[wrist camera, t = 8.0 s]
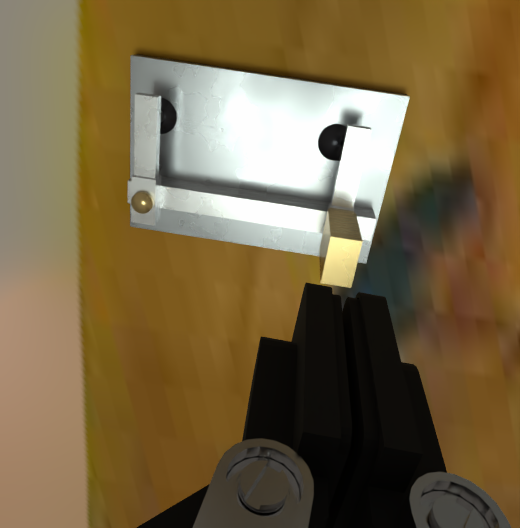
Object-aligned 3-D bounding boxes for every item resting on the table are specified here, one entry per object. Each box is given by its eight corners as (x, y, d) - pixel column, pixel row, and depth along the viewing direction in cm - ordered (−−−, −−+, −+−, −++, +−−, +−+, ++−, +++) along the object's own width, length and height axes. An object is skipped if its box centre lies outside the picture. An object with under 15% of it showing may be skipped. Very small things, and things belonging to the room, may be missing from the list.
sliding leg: (341, 117, 31) (350, 143, 24) (369, 121, 31) (385, 149, 24) (318, 233, 35) (320, 284, 28) (342, 237, 35) (350, 289, 28)
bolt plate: (136, 54, 32) (109, 59, 27) (406, 94, 31) (421, 106, 27) (135, 220, 37) (112, 246, 33) (364, 256, 37) (371, 287, 32)
